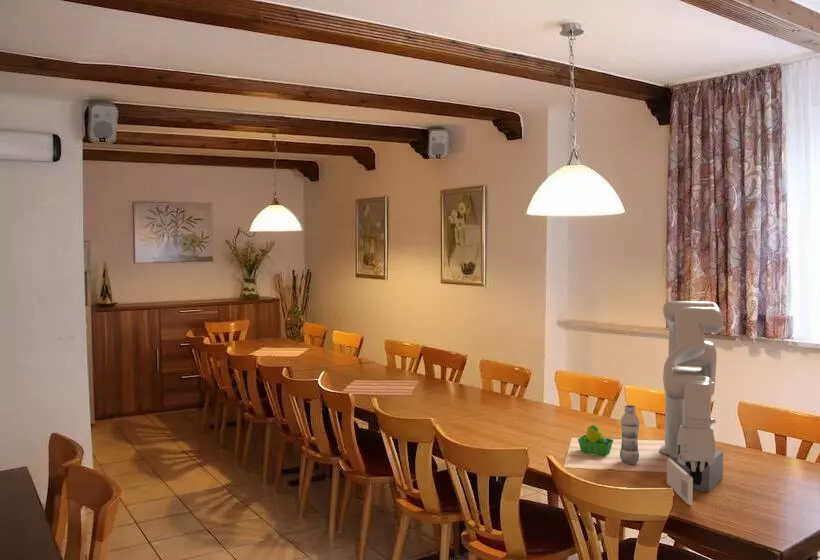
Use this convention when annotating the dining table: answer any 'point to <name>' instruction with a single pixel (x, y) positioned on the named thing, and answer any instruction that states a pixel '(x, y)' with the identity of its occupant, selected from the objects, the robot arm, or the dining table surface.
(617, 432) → the dining table surface
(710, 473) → the grey block
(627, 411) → the plastic bottle
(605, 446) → the fruit basket
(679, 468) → the door
